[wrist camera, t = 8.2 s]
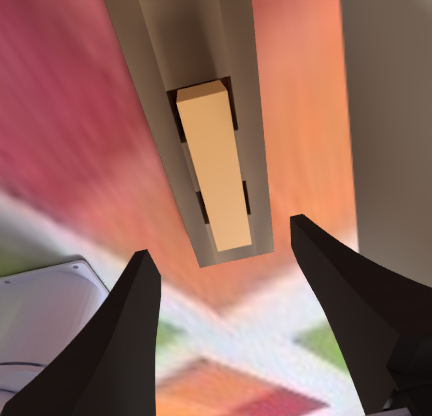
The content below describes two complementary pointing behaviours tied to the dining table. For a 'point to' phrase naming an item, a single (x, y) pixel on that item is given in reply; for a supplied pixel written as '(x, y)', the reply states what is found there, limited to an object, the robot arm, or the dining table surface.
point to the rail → (189, 75)
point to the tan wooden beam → (215, 161)
